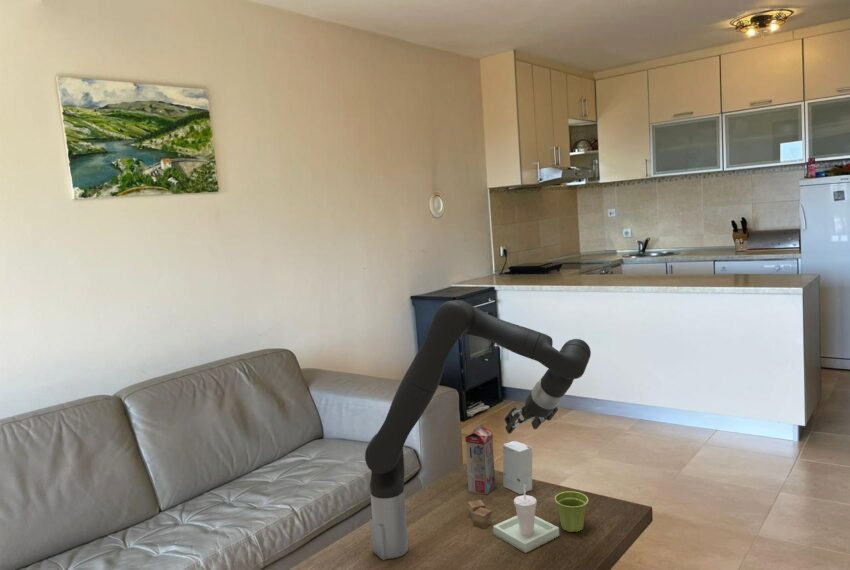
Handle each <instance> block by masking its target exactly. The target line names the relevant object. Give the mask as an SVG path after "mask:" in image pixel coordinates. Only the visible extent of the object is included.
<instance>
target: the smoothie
mask: <svg viewBox="0 0 850 570" xmlns="http://www.w3.org/2000/svg"><path fill="white" fill-rule="evenodd" d="M523 488H524V493H523V495H522V494H521V495H519V496H516V497H515V498H514V499H513V505H514V506H515V511H516V516H517V517H518V523H519V528H520V533H521V535H523V536H531V535H533V533H534V520H535V516H536V506H537V505H538V503H537V501H538V500H537V499H536V497H534V496H532V495H527V494H526V493H527V492H526V489H525V484H523Z"/></svg>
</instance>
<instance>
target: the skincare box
mask: <svg viewBox="0 0 850 570" xmlns="http://www.w3.org/2000/svg"><path fill="white" fill-rule="evenodd" d="M502 448H503V449H502V450H503V451H502V456H503V458H502V459H503V460H502V463H503V464H502V465H503V466H502V467H503V468H502V469H503V470H502V471H503V472H502V475H503V476H502V480H503V482H502V483H503V484H502V485H503V487H504V488H506V489H508V490H509V491H513V492H515V493H516V494H519V495H522V494H523V495H524V488H523V484H525V489H526V493H527V492H529V491H532V490H533V447H531V446H529V445H527V444H525V443H523V442H519V441H517V440H513V441H509V442H507V443H503V445H502Z"/></svg>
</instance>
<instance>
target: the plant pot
mask: <svg viewBox="0 0 850 570" xmlns="http://www.w3.org/2000/svg"><path fill="white" fill-rule="evenodd" d="M554 501H555V503H556V506H557V508H558V514H559V519H560V527H561V528H562V530H564V531H565V530H566V531H565V532H569V533H573V532H577V533H579V532H580V530H581V531H582V530H583V529H584V526H585V525H584V523H585V515H586V508H587V506H588V504H589V497H588V496H587V495H585V494H584V493H582V492H578V491H573V490H572V491H570V490H569V491H563V492H559V493H558V494H556V495H554ZM578 531H579V532H578Z"/></svg>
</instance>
